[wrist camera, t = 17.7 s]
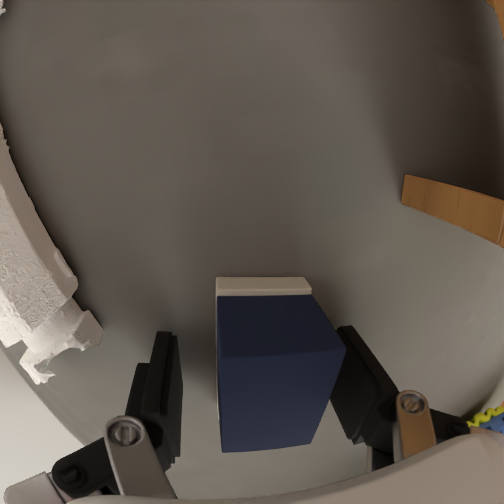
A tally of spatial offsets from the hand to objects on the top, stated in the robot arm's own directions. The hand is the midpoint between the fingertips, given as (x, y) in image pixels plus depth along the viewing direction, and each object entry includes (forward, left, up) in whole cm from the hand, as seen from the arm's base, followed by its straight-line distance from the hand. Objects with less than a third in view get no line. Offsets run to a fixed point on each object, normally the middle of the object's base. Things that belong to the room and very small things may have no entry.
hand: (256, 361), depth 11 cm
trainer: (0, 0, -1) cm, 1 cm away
